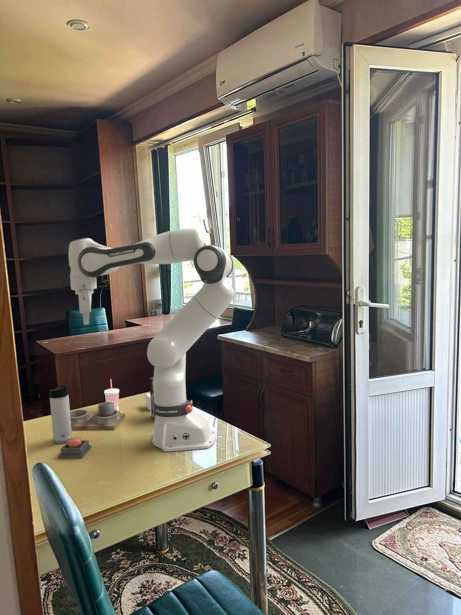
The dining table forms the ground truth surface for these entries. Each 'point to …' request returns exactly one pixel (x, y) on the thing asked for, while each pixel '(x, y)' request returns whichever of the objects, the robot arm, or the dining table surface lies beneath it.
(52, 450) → the dining table surface
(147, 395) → the adhesive note
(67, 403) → the travel mug
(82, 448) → the button housing
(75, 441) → the button
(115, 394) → the beverage cup
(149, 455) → the dining table surface
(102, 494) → the dining table surface
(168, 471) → the dining table surface
